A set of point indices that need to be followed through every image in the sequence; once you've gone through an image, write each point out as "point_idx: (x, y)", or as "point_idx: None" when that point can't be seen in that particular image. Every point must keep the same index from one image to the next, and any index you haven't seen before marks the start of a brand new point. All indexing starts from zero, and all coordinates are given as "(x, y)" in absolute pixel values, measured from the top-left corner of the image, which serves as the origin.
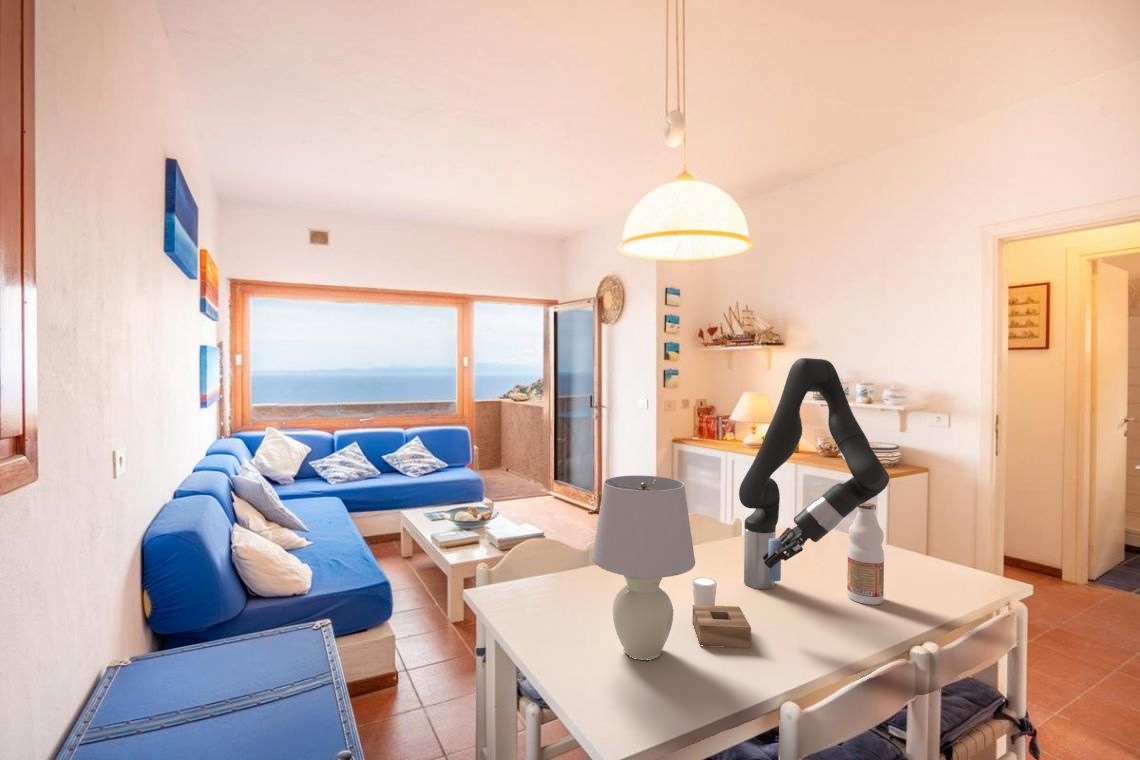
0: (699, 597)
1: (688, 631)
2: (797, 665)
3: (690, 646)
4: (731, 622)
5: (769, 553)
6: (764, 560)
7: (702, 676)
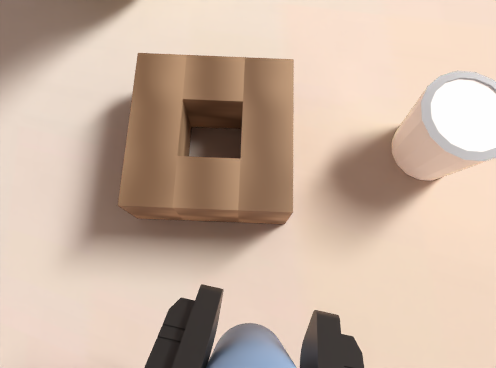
0: (409, 113)
1: None
2: (29, 327)
3: None
4: (157, 150)
5: (236, 352)
6: (221, 292)
7: (5, 64)
